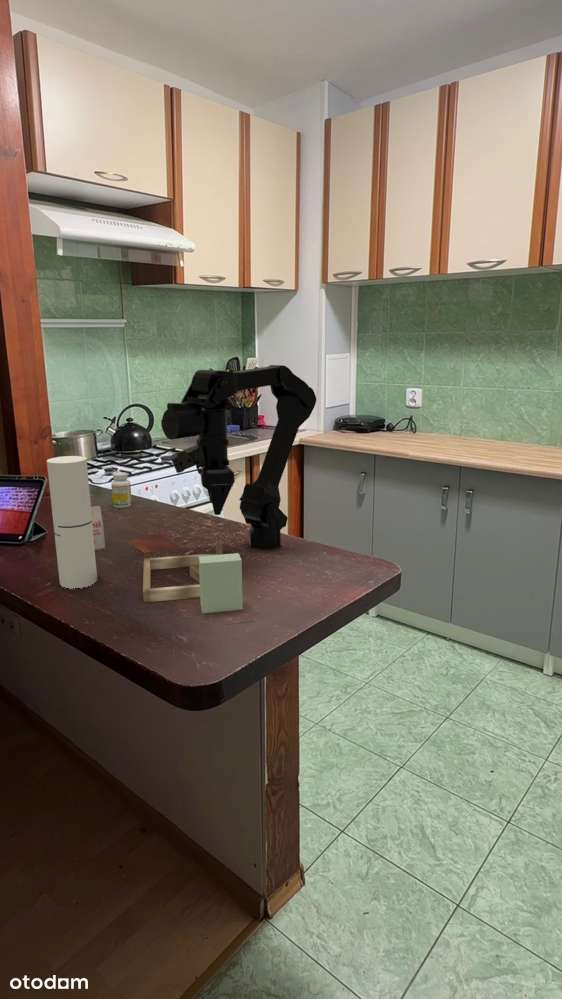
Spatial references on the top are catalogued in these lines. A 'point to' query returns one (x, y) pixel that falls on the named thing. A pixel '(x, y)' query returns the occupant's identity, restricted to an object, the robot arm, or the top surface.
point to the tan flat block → (195, 572)
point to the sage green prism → (220, 583)
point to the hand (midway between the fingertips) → (215, 508)
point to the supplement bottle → (121, 490)
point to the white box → (97, 528)
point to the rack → (176, 591)
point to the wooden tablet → (155, 543)
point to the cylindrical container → (72, 521)
